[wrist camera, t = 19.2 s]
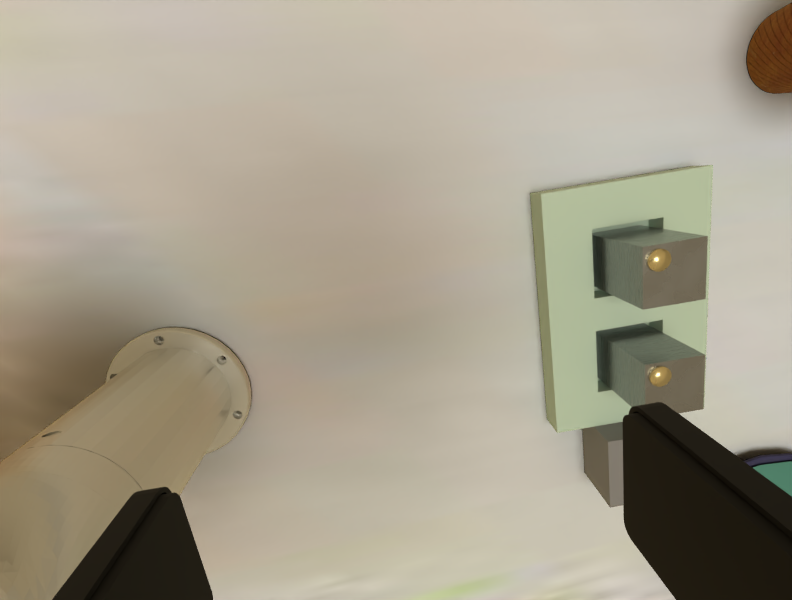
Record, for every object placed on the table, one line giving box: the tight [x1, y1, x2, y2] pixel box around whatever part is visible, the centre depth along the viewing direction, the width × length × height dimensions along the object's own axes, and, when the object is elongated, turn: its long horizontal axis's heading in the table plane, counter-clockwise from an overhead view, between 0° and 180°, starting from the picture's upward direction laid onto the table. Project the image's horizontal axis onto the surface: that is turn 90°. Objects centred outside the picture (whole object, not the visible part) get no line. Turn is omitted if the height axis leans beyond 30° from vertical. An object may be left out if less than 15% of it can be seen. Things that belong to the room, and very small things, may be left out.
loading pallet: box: [530, 165, 713, 507], centre depth 39 cm, size 29×14×5 cm, turn 9°
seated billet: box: [596, 323, 705, 413], centre depth 37 cm, size 5×5×8 cm
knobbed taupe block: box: [592, 225, 708, 310], centre depth 34 cm, size 5×5×8 cm
